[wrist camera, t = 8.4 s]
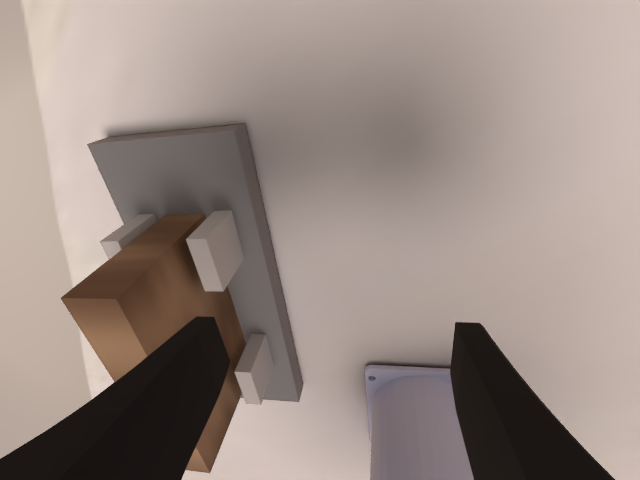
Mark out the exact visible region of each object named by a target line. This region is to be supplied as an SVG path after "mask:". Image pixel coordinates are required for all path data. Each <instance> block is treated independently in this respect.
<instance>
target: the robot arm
mask: <svg viewBox="0 0 640 480" xmlns="http://www.w3.org/2000/svg"><path fill="white" fill-rule="evenodd" d="M229 365H230V359H229V356H228V353H227V350H226V348H225V345H224V342H223V340H222V337H221V334H220V331H219V329H218V326H217V323H216V320H215V318H214V317H202V316H197V317H195V318H194V319H193V320H191V321H190V322H189V323H187V324H186V325H185V326H184V327H183V328H181V329H180V330H179V331H178V332H176V333H175V334H174V335H173V336H172V337H170V338H169V339H168V340H167V341H166V342H164V343H163V344H162V345H161V346H160V347H158V348H157V349H156V350H155V351H153V352H152V353H151V354H150V355H149V356H147V357H146V358H145V359H144V360H142V361H141V362H140V363H139V364H138V365H136V366H135V367H134V368H133V369H131V370H130V371H129V372H127V373H126V374H125V375H124V376H122V377H121V378H120V379H118V380H117V381H116V382H114V383H113V384H112V385H111V386H109V387H108V388H107V389H105V390H104V391H103V392H101V393H100V394H99V395H98V396H96V397H95V398H93V399H92V400H91V401H90V402H88V403H87V404H85V405H84V406H82V407H81V408H79V409H78V410H77V411H75V412H74V413H72V414H71V415H69V416H68V417H66V418H65V419H63V420H62V421H60V422H59V423H57V424H56V425H54V426H53V427H52V428H50V429H48V430H47V431H45V432H44V433H42V434H40V435H39V436H37V437H35V438H34V439H32V440H31V441H29V442H27V443H26V444H24V445H22V446H21V447H19V448H18V449H16V450H14V451H13V452H11V453H10V454H8V455H6V456H5V457H3V458H1V459H0V480H181V479H182V476H183V474H184V472H185V469H186V467H187V465H188V463H189V460H190V458H191V456H192V454H193V452H194V450H195V447H196V445H197V443H198V441H199V439H200V437H201V435H202V432H203V430H204V428H205V426H206V424H207V422H208V419H209V417H210V415H211V413H212V411H213V408H214V406H215V404H216V402H217V400H218V397H219V395H220V393H221V390H222V387H223V384H224V381H225V378H226V374H227V371H228V368H229ZM365 385H366V398H367V410H368V423H369V435H370V442H371V471H370V480H615V479H614V478H613V477H612V476H611V475H610V474H609V473H608V472H607V471H606V470H605V469H604V468H603V467H602V466H601V465H600V464H599V463H598V462H597V461H596V460H595V459H594V458H593V457H592V456H591V455H590V454H589V453H588V452H587V451H586V450H585V449H584V448H583V447H582V445H581V444H580V443H579V442H578V441H577V440H576V439H575V438H574V437H573V436H572V435H571V434H570V433H569V431H568V430H567V429H566V428H565V427H564V426H563V425H562V424H561V423H560V422H559V420H558V419H557V418H556V417H555V416H554V415H553V414H552V413H551V411H550V410H549V409H548V408H547V407H546V406H545V405H544V403H543V402H542V401H541V400H540V399H539V398H538V396H537V395H536V394H535V393H534V392H533V390H532V389H531V388H530V387H529V386H528V384H527V383H526V382H525V381H524V380H523V378H522V377H521V376H520V375H519V373H518V372H517V371H516V370H515V368H514V367H513V366H512V365H511V363H510V362H509V361H508V359H507V358H506V357H505V355H504V354H503V353H502V352H501V350H500V349H499V348H498V346H497V345H496V343H495V342H494V341H493V339H492V338H491V337H490V335H489V334H488V332H487V331H486V330H485V328H484V327H483V326H482V325H481V324H480V323H463V322H456V323H455V332H454V341H453V350H452V359H451V368H450V369H447V368H427V367H406V366H386V365H368V366H366V367H365Z"/></svg>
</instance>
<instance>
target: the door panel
mask: <svg viewBox="0 0 640 480" xmlns="http://www.w3.org/2000/svg"><path fill="white" fill-rule="evenodd" d="M205 220H206V216H205V214H185V215H165V216H163V217H162V218H161V219H160V220H158V221H157V222H156V223H155V224H153V225H152V226H151V227H150V228H148V229H147V230H146V231H145V232H143V233H142V234H141V235H139V236H138V237H137V238H136V239H134V240H133V241H132V242H131V243H129V244H128V245H127V246H126V247H124V248H123V249H122V250H121V251H119V252H118V253H117V254H116V255H114V256H113V257H112V258H111V259H109V260H108V261H107V262H106V263H104V264H103V265H102V266H100V267H99V268H98V269H97V270H95V271H94V272H93V273H92V274H90V275H89V276H88V277H87V278H85V279H84V280H83V281H82V282H80V283H79V284H78V285H77V286H75V287H74V288H73V289H72V290H70V291H69V292H68V293H67V294H65V295H64V296H63V297H62V298H61V299H62V301H63V303H64V304H65V305H66V307H67V309H68V310H69V312H70V313H71V315H72V317H73V318H74V320H75V321H76V323H77V324H78V326H79V327H80V329H81V331H82V332H83V334H84V335H85V337H86V338H87V340H88V341H89V343H90V344H91V346H92V348H93V349H94V351H95V352H96V354H97V355H98V357H99V358H100V360H101V362H102V363H103V365H104V366H105V368H106V369H107V371H108V372H109V374H110V376H111V377H112V379H113V380H114V382H116V381H117V380H118V379H120V378H121V377H122V376H124V375H125V374H126V373H127V372H129V371H130V370H131V369H133V368H134V367H135V366H136V365H138V364H139V363H140V362H141V361H142V360H144V359H145V358H146V357H147V356H149V355H150V354H151V353H152V352H153V351H155V350H156V349H157V348H158V347H160V346H161V345H162V344H163V343H164V342H166V341H167V340H168V339H169V338H170V337H172V336H173V335H174V334H175V333H176V332H178V331H179V330H180V329H181V328H183V327H184V326H185V325H186V324H187V323H189V322H190V321H191V320H193V319H194V318H195V317H197V316H202V317H214V318H215V320H216V323H217V326H218V329H219V331H220V334H221V337H222V340H223V342H224V345H225V348H226V350H227V353H228V356H229V359H230V365H229V368H228V371H227V374H226V378H225V381H224V384H223V387H222V390H221V393H220V395H219V397H218V400H217V402H216V404H215V406H214V408H213V411H212V413H211V415H210V417H209V419H208V422H207V424H206V426H205V428H204V430H203V432H202V435H201V437H200V439H199V441H198V443H197V445H196V447H195V450H194V452H193V454H192V456H191V458H190V460H189V463H188V465H187V467H186V469H185V470H190V471H198V472H206V473H210V472H211V469H212V467H213V464H214V462H215V459H216V457H217V454H218V452H219V449H220V447H221V444H222V442H223V439H224V437H225V434H226V432H227V429H228V427H229V424H230V422H231V419H232V417H233V414H234V412H235V409H236V407H237V404H238V402H239V399H240V397H241V394H242V391H241V389H240V386H239V383H238V380H237V378H236V375H235V372H234V371H235V369H236V367H237V365H238V362H239V360H240V358H241V356H242V353H243V351H244V349H245V347H246V342H245V339H244V336H243V332H242V329H241V326H240V323H239V320H238V317H237V314H236V310H235V307H234V304H233V301H232V298H231V295H230V292H229V289H228V285H227V287H226V288H225V290H224V291H205V290H204V288H203V285H202V282H201V279H200V277H199V274H198V271H197V268H196V266H195V263H194V260H193V258H192V255H191V252H190V249H189V247H188V244H187V241H186V239H187V238H188V237H189V236H190V235H191V234H192V233H193V232H194V231H195V230H196V229H197V228H198V227H199V226H200V225H201V224H202V223H203V222H204V221H205Z"/></svg>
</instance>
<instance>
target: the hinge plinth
mask: <svg viewBox="0 0 640 480" xmlns="http://www.w3.org/2000/svg"><path fill="white" fill-rule="evenodd" d="M87 145H88V147H89V149H90V151H91V153H92V156H93V158H94V160H95V162H96V164H97V166H98V169H99V171H100V173H101V175H102V177H103V179H104V182H105V184H106V186H107V188H108V190H109V192H110V195H111V197H112V199H113V201H114V203H115V206H116V208H117V210H118V212H119V214H120V216H121V219H122V221H123V223H124V225H123V226H121V227H120V228H119V229H117V230H116V231H114V232H113V233H112V234H110V235H109V236H107V237H106V238H104V239H103V240H102V241H100V243H101V245H102V247H103V249H104V251H105V253H106V255H107V257H108V259H111V258H112V257H113V256H114V255H116V254H117V253H118V252H119V251H121V250H122V249H123V248H124V247H126V246H127V245H128V244H129V243H131V242H132V241H133V240H134V239H136V238H137V237H138V236H139V235H141V234H142V233H143V232H145V231H146V230H147V229H148V228H150V227H151V226H152V225H153V224H155V223H156V222H157V221H158V220H160V219H161V218H162V217H163V216H165V215H185V214H205V216H206V220H205V221H204V222H203V223H202V224H201V225H200V226H199V227H198V228H197V229H196V230H195V231H194V232H193V233H192V234H191V235H190V236H189V237H188V238H187V239H186V241H187V244H188V247H189V249H190V252H191V255H192V258H193V260H194V263H195V266H196V268H197V271H198V274H199V277H200V279H201V282H202V285H203V288H204V290H205V291H224V290H225V288H226V287H227V285H228V289H229V292H230V295H231V298H232V301H233V304H234V307H235V310H236V314H237V317H238V320H239V323H240V326H241V329H242V332H243V336H244V339H245V342H246V347H245V349H244V351H243V353H242V356H241V358H240V360H239V362H238V365H237V367H236V369H235V371H234V372H235V375H236V378H237V380H238V383H239V386H240V389H241V391H242V394H241V397H240V398H244V399H245V402H246V404H259V405H261V403H262V400H263V399H266V400H280V401H294V402H299V400H300V396H301V391H302V387H303V382H302V377H301V373H300V368H299V364H298V359H297V355H296V350H295V346H294V341H293V337H292V332H291V328H290V323H289V319H288V314H287V310H286V305H285V301H284V296H283V291H282V287H281V282H280V278H279V273H278V269H277V264H276V260H275V255H274V251H273V246H272V242H271V237H270V233H269V228H268V224H267V219H266V215H265V210H264V206H263V201H262V197H261V192H260V187H259V183H258V178H257V174H256V169H255V165H254V160H253V156H252V151H251V147H250V142H249V138H248V133H247V129H246V124H236V125H226V126H216V127H206V128H196V129H186V130H176V131H165V132H155V133H145V134H135V135H125V136H115V137H107V138H104V139H101V140H98V141H95V142H93V143H90V144H87Z"/></svg>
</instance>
